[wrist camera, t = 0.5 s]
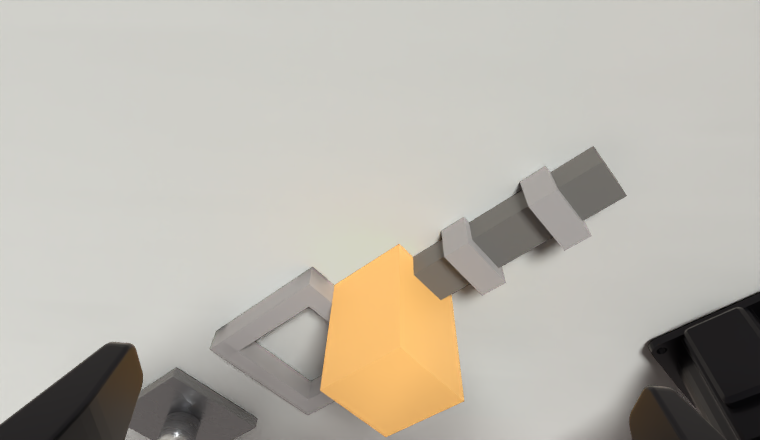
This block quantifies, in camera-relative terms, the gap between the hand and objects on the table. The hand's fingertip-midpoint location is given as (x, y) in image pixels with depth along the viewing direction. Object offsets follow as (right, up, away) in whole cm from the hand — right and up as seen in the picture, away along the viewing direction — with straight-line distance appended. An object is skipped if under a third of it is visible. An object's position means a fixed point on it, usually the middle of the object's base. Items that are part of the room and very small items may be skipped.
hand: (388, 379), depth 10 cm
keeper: (-12, -9, +23) cm, 27 cm away
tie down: (+1, -1, +16) cm, 16 cm away
